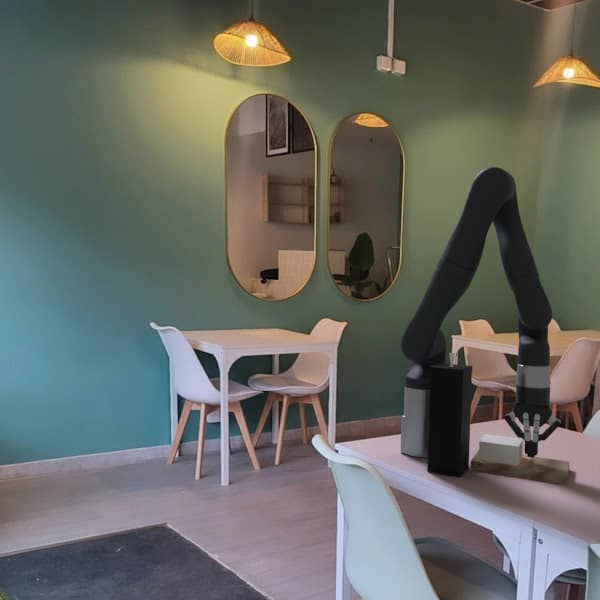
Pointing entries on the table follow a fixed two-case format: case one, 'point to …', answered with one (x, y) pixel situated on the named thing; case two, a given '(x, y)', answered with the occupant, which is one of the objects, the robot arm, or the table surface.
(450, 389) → the black rectangular column
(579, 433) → the table surface
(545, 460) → the podium
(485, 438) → the carton
